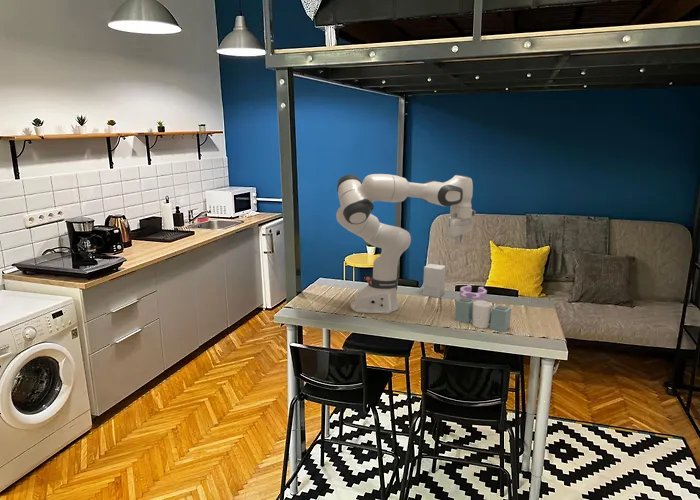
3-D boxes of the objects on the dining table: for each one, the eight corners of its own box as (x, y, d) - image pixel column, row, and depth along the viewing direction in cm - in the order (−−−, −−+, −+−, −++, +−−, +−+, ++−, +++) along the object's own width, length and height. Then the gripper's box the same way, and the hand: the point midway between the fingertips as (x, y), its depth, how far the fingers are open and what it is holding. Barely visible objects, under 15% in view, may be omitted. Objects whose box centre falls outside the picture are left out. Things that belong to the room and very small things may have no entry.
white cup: (489, 323, 218) (491, 301, 216) (490, 329, 210) (492, 307, 208) (470, 321, 219) (472, 299, 217) (471, 327, 212) (473, 305, 210)
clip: (481, 313, 231) (482, 298, 230) (454, 309, 236) (455, 295, 234) (487, 300, 249) (488, 287, 248) (462, 297, 254) (463, 284, 252)
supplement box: (444, 293, 259) (446, 265, 256) (439, 298, 251) (441, 269, 248) (427, 290, 263) (429, 263, 260) (422, 295, 255) (423, 266, 252)
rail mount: (504, 332, 208) (506, 310, 206) (454, 320, 220) (456, 299, 218) (510, 326, 214) (513, 305, 212) (462, 315, 227) (464, 295, 225)
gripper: (456, 216, 206) (454, 249, 209) (477, 211, 222) (474, 241, 225) (442, 214, 210) (440, 246, 213) (463, 209, 226) (461, 239, 229)
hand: (458, 244), depth 219 cm, fingers closed
